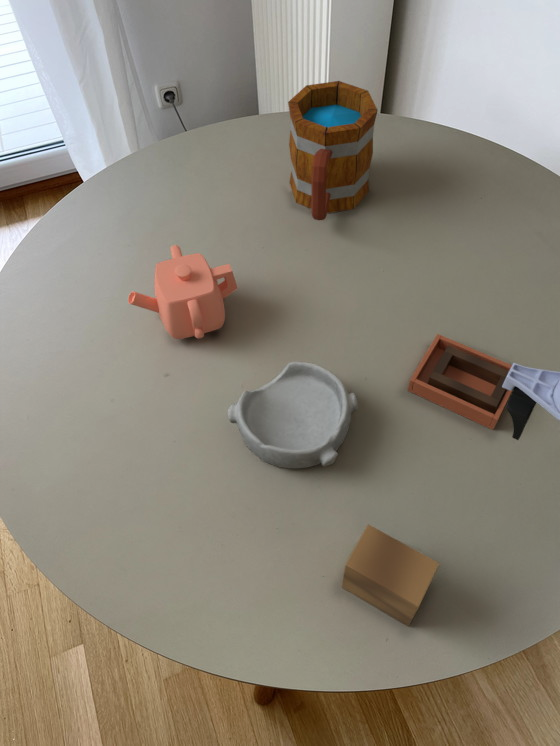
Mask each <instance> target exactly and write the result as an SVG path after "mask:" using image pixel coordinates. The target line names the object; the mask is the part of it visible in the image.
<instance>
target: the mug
mask: <svg viewBox="0 0 560 746" xmlns="http://www.w3.org/2000/svg"><path fill="white" fill-rule="evenodd" d="M287 104H288V111H289V120H290V121H289V123H290V125H289V126H290V127H289V129H290V131H289V142H288V146H289V147H288V148H289V154H290V155H289V156H290V175H289V176H290V177H289V185H290V189H291V191H292V195H293V198H294V201H295V203H296V204H298V205H301V206H303V207H305V208H308V209H310V210H311V212H310V213H311V218H313V220H316V221H324V220H325V219H326V218H327V216H328V214H331V213H336V212H337V213H338V212H342V211H350V210H354V209H355V208H356V207H357V206H358V205H359V204H360V202H361V201H362V200H363V199H364V198H365V197H366V196H367V194H368V193H369V192H370V182H369V180H370V178H369V177H370V170H371V164H372V159H373V154H374V131H375V130H374V129H375V122H376V118H377V114H378V108H377V105H376V104H375V101H374V99H373V98H372V95H371V94H370V91H369V90H367V89H364V88H362V87H358V86H356V85H352V84H349V83H346V82H344V81H341V80H336V81H328V82H321V83H314V84H307V85H305V86H304V87H303V88H302V89H300V90H299V92H298V93H296V94H295V95H294V96H293V97H292V98H290V100H289V101H287Z"/></svg>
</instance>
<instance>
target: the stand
mask: <svg viewBox="0 0 560 746" xmlns="http://www.w3.org/2000/svg"><path fill="white" fill-rule="evenodd" d="M439 566H440V562H438V561H436V560H435V559H433V558H431V557H429V556H427V555H425V554H424V553H422V552H420V551H418V550H416V549H415V548H413V547H410V546H409V545H407V544H405V543H403V542H402V541H400V540H398V539H396V538H394V537H393V536H391V535H389V534H387V533H385V532H383V531H381V530H380V529H378V528H376V527H374V526H372V525H371V524H367V525H366V527H365V529H364V530H363V532H362V534H361V536H360V538H359V539H358V540H357V543H356V545H355V546H354V548H353V550H352V551H351V554H350V556H349V557H348V559H347V561H346V563H345V565H344V572H343V577H342V583H341V588H342V589H344V590H345V591H347V592H348V593H350V594H352V595H354V596H355V597H356V598H359V599H360V600H362V601H364V602H365V603H367V604H369V605H370V606H372V607H374V608H376V609H378V610H379V611H381V612H383V613H384V614H386V615H388V616H389V617H391V618H393V619H394V620H396V621H398V622H399V623H401V624H403V625H404V626H406V627H410V625H411V623H412V621H413V619H414V617H415V616H416V614H417V612H418V610H419V608H420V606H421V604H422V602H423V600H424V597H425V596H426V593H427V592H428V590H429V587H430V586H431V583H432V581H433V578H434V577H435V575H436V572H437V570H438V569H439Z"/></svg>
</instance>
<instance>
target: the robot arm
mask: <svg viewBox="0 0 560 746" xmlns="http://www.w3.org/2000/svg"><path fill="white" fill-rule="evenodd" d="M511 365H512V367H511V369H510V371H509V373H508V375H507V377H506V379H505V381H504V383H503V385H502V387H503V388H505V389H507V390H509V391H512V392H511V394H510V397H509V399H508V401H507V403H506V411H507V412H508V414H509V416H510V418H511V420H512V428H513V429H512V431H513V432H512V436H511V438H512V439H514V440H517V441H519V440H520V438H521V436H522V433H523V431H524V430H525V427H526V425H527V423H528V421H529V420H530V417H531V415H532V413H533V412H534V409H535V406H536V405H537V404H538V405H539V406H540V407H542V408H543V409H544V410H545V411H547V412H548V413H549V414H550V415H551V416H552V417H554V419H556V420H557V421H559V422H560V371H554V370H549V369H542V368H534V367H529V366H526V365H523V364H519V363H517V362H513V363H512V364H511Z"/></svg>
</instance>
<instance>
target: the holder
mask: <svg viewBox="0 0 560 746" xmlns="http://www.w3.org/2000/svg"><path fill="white" fill-rule="evenodd" d="M448 345H449V346H451V347H453V348H456V349H458V350H460V351H463V352H465V353H468V354H470V355H472V356H475V357H477V358H479V359H482V360H484V361H486V362H489V363H491V364H493V365H496V366H498V367H500V368H503V369H505V370H507V371H510V369H511V367H512V365H513V364H511V363H508V362H505V361H503V360H500V359H498V358H497V357H493V356H491V355H489V354H487V353H485V352H482V351H479V350H477V349H474V348H472V347H470V346H467V345H465V344H463V343H460V342H458V341H455V340H453V339H451V338H449V337H446V336H444V335H441V334H440V333H437V334H436V336H435V338H434V339H433V340H432V342H431V343H430V346H429V347H428V349H427V351H426V352H425V354H424V355H423V357H422V359H421V361H420V363H419V364H418V366H417V367H416V369H415V370H414V372H413V374H412V376H410V379H409V382H408V386H407V392H410V393H412V394H414V395H416V396H419V397H420V398H423V399H425V400H427V401H429V402H432V403H434V404H435V405H438V406H439V407H442V408H445V409H446V410H448V411H451V412H453V413H455V414H457V415H460V416H462V417H464V418H466V419H467V420H468V419H469V420H470V421H472V422H475V423H477V424H479V425H480V426H482V427H485V428H487V429H490V430H492V431H494V429H495V427H496V425H497V423H498V421H499V419H500V418H501V414H502V413H503V411H504V409H505V407H506V406H507V402H508V400H509V398H510V396H511V394H512V392H513V391H509V390H507V389H506V390H505V392H504V394H503V396H502V398H501V400H500V402H499V404H498V406H497V408H496V410H495V412H494V414H493V413H490V412H488V411H486V410H484V409H482V408H479V407H477V406H475V405H473V404H471V403H468V402H466V401H464V400H462V399H460V398H457V397H455V396H453V395H451V394H449V393H446V392H444V391H442V390H440V389H438V388H435V387H433V386H431V385H429V384H428V380H429V377H430V375H431V373H432V372H433V370H434V368H435V366H436V365H437V363H438V361H439V360H440V358H441V356H442V354H443V353H444V351H445V349H446V348H447V346H448ZM444 376H446V377H449V378H451V379H453V380H455V381H458V382H460V383H462V384H464V385H467V386H469V387H471V388H473V389H476V390H478V391H480V392H482V393H485V394H487V395H489V396H491V395H492V393H493V391H494V389H495V387H496V385H493V384H491V383H489V382H487V381H484V380H482V379H480V378H478V377H475V376H473V375H471V374H468V373H466V372H464V371H462V370H459V369H457V368H455V367H452V366H450V365H449V367H448V369H447V371H446V372H445V374H444Z"/></svg>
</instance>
